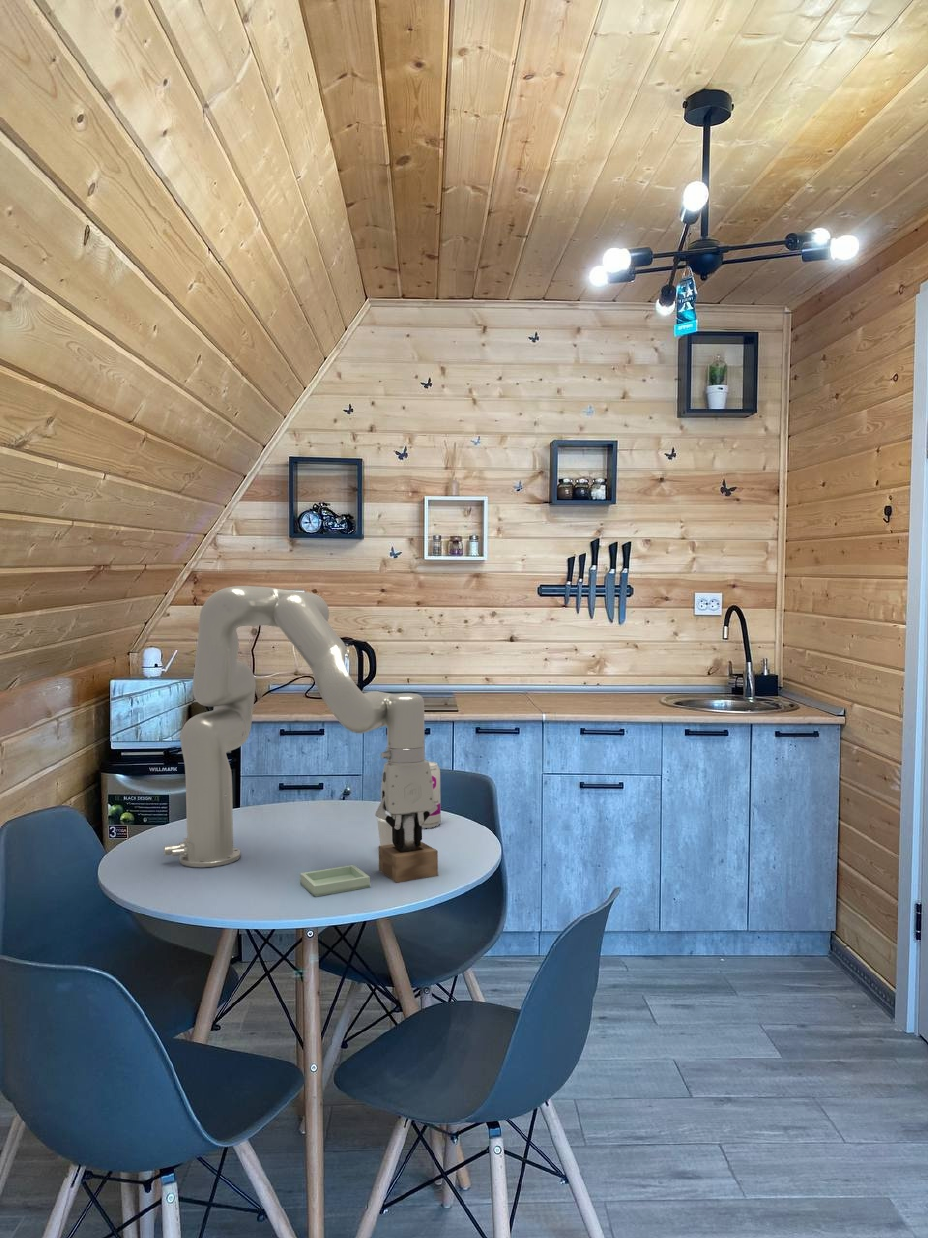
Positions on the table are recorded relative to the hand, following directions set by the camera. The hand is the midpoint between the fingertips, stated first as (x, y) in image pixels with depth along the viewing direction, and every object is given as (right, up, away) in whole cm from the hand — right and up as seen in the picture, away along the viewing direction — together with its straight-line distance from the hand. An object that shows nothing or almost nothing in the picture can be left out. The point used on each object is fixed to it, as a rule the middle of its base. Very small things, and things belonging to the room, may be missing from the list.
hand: (407, 845), depth 177 cm
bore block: (0, -6, 0) cm, 6 cm away
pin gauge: (0, -4, 0) cm, 4 cm away
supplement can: (+2, -5, +38) cm, 38 cm away
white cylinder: (-4, -6, +17) cm, 18 cm away
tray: (-14, -6, -7) cm, 16 cm away
